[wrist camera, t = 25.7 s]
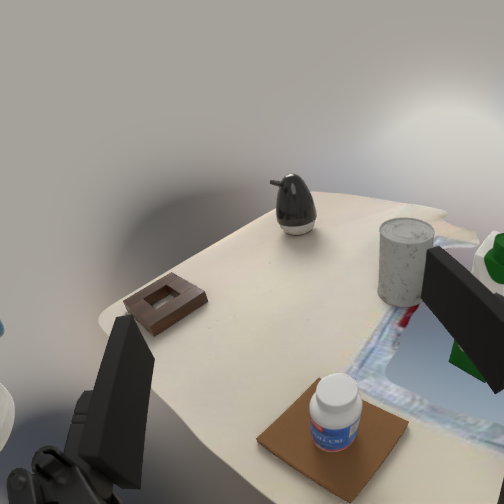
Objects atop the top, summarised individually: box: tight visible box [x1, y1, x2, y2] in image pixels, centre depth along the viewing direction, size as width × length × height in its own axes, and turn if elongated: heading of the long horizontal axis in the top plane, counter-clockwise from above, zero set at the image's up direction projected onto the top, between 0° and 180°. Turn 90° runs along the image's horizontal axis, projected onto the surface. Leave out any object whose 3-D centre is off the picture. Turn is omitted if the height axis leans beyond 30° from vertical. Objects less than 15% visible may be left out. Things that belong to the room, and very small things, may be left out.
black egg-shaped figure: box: [270, 174, 317, 235], centre depth 78 cm, size 10×10×15 cm
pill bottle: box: [309, 373, 362, 452], centre depth 29 cm, size 6×5×10 cm
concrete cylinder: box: [378, 218, 435, 307], centre depth 49 cm, size 10×10×12 cm
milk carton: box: [449, 231, 504, 383], centre depth 30 cm, size 9×9×20 cm
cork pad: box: [256, 378, 409, 503], centre depth 31 cm, size 14×12×1 cm
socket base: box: [123, 272, 208, 337], centre depth 62 cm, size 13×13×2 cm
